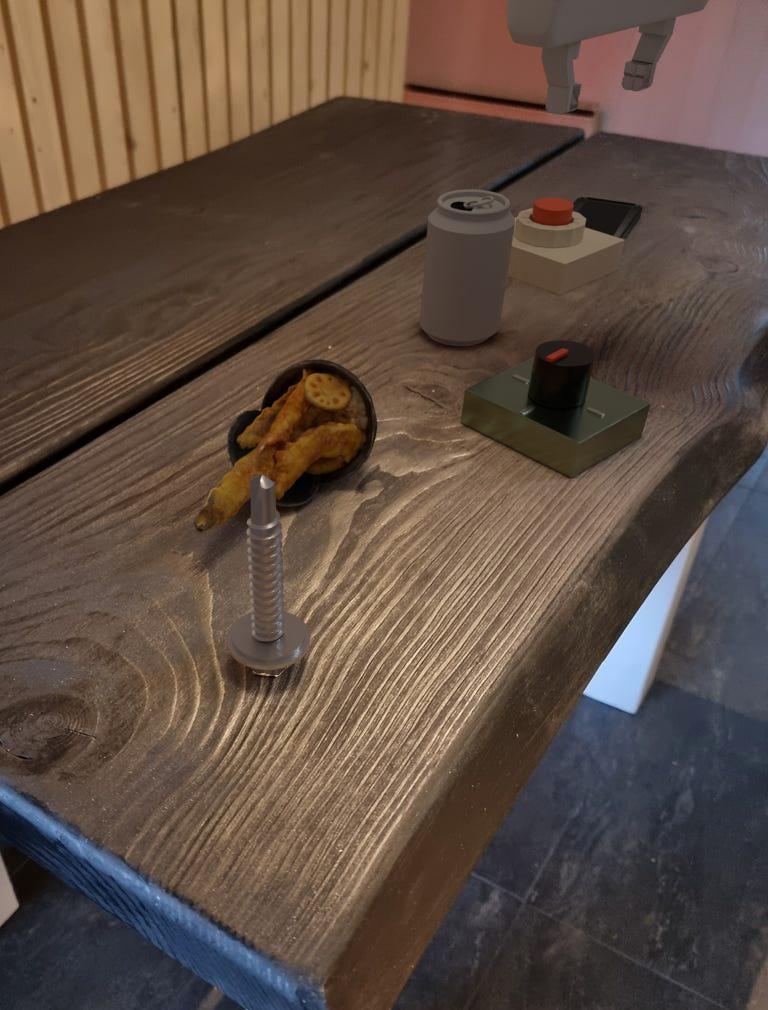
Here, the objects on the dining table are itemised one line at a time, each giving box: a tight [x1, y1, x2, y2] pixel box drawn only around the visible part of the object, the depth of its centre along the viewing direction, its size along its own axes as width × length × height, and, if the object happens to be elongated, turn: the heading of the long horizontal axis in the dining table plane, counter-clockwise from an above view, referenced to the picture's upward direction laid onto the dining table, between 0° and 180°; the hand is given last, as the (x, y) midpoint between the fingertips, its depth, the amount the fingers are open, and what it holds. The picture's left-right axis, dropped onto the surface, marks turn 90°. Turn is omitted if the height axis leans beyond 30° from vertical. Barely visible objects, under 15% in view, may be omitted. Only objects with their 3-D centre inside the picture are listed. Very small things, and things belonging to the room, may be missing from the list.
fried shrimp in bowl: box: [193, 359, 378, 536], centre depth 64 cm, size 9×11×18 cm
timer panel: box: [460, 356, 652, 479], centre depth 73 cm, size 11×9×3 cm
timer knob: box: [528, 339, 596, 409], centre depth 71 cm, size 4×4×4 cm
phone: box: [572, 196, 643, 241], centre depth 106 cm, size 8×1×15 cm
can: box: [419, 189, 515, 347], centre depth 83 cm, size 8×8×12 cm
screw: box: [225, 474, 311, 675], centre depth 50 cm, size 13×5×5 cm
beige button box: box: [507, 207, 626, 296], centre depth 97 cm, size 12×10×5 cm
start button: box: [531, 197, 574, 226], centre depth 95 cm, size 4×4×2 cm
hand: (599, 100), depth 69 cm, fingers open, 8 cm apart
